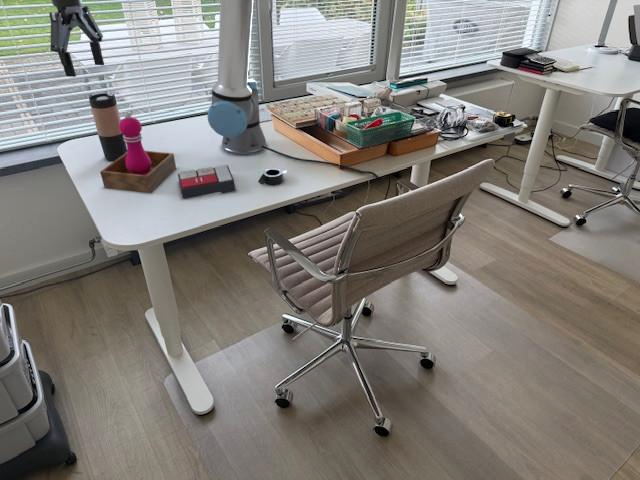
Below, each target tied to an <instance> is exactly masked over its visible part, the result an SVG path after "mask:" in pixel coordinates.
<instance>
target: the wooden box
mask: <svg viewBox="0 0 640 480" xmlns="http://www.w3.org/2000/svg"><path fill="white" fill-rule="evenodd" d="M145 152H146V153H147V154H148V156H149V158H150V160H151V167H150V170H151V171H150V172H149V173H148V174H147V175H138V174H130V171H129V170H128V169H127V168H126V156H127V152H126V153H125V154H123V155H122V156H121V157H119V158H118V159H117V160H115V161H114V162H111V163H110V164H108V165H107V166H105V167H104V168H103V169H102V170H100V171H99V173H100V177H101V181H102V184H103V188H104V189H110V190H116V191H117V190H118V191H125V192H126V191H127V192H136V193H144V194H152V193H153V192H154V191H155V190H156V189H157V188H158V187H159V186H160V185H161V184H162V183H164V181H166V179H167V178H169V177H170V176H171V175H172V174H173V173H174V172H175V171H176V170H177V164H176V159H175V154H174V153H172V152H163V151H153V150H151V151H150V150H145Z"/></svg>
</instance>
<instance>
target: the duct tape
mask: <svg viewBox="0 0 640 480" xmlns="http://www.w3.org/2000/svg"><path fill="white" fill-rule="evenodd" d="M286 173H288V170H282V169H280V168H276V167H271V168H267V169H265V170H263V172H262V174H261V176H260V177H259V179H258V181H257V183H258V184H260V185H261V186H263V185H267V186H271V187H273V186H279V185H281V184H283V182H284V178H283V177H284V174H286Z"/></svg>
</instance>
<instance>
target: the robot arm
mask: <svg viewBox="0 0 640 480" xmlns="http://www.w3.org/2000/svg"><path fill="white" fill-rule="evenodd" d="M51 3H52V5H53V7H56V10H57V11H56V12H55V11H54V12H53V11H52V12H51V11H49V13H48V14H49V20H50V51H51V52H54V53H57V54H58V57H59V61H60V63H61V65H62V67H63V70H64V73H65V77H71V78H75V77H77V74H76V71H75V70H76V69H75V67H74V63H73V59H72V56H71V53H70V51H68V47H69V41H70V37H71V33H72V31H73V30H74V28H76V27H78V28H79V29H80V30H81V31H82V32H83V33H84V34H85V36H86V37H87V38H88V39H89V47H90V50H91V54H92V58H93V62H94V65H95V66H105V61H104V57H103V54H102V47H101V42H103V38H104V34H103V33H102V31H101V29H100V27H99V26H98V24H97V22H96V20H95V19H94V17H93V15H92V13H91V10H90V7H89V6H88V5H83V0H51ZM253 7H254V0H220V1H219V27H218V29H219V30H218V58H217V59H218V61H217V82H216V83H214V84H213V85H212V87H211V105H210V106H209V108H208V111H207V122H208V124H209V127H210V128H211V129H212V130H213V131H214V132H215V133H216V134H217V135H219V136H222V140H221V147H222V150H223V151H224V152H225V153H227V154H230V155H233V156H234V155H235V156H251V155H255V154H259V153H261V152H264V151H265V150H267V151H270V152H272V153H274V154H277V155H280V156H282V157H286V158H288V159H291V160H296V161H301V162H307V163H309V162H310V163H317V164H324V165H329V166H330V165H331V166H336V167H341V168H344V169H347V170H349V171H354V172H357V173H360V174H370V175H373V176H374V177H375V178H376V179H380V176H379V175H378V174H377V173H375V171H370V170H360V169H357V168H354V167H351V166H348V165H345V164H341V165H339V164H340V163H336V162H330V161H324V160H317V159H306V158H301V157H300V158H299V157H295V156H292V155H289V154H285V153H283V152H281V151H278V150H275V149H273V148H270V147H268V146H267V139H266V137H265V134H264V132H263V128H262V126H261V121H260V106H259V105H260V104H259V88H258V87H259V86H258V82H257V81H256V80H254V79H251V78H249V67H250V51H251V35H252V22H253V21H252V20H253V9H254V8H253Z"/></svg>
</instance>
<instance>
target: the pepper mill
mask: <svg viewBox="0 0 640 480" xmlns="http://www.w3.org/2000/svg"><path fill="white" fill-rule="evenodd" d="M119 130H120V132H121V133H122V134H124V135H123V138H124V141H125V142H126V146H127V156H126V168H127V169H128V170H129V171H130V174H138V175H147V174H148V173H149V172H150V171H151V170H150V167H151V160H150V158H149V156H148V154H147V153H146V152H145V151H146V150H145V149H144V147H143V144H142V139H143V136H142V133H141V132H142V130H143V126H142V124H141V122H140V120H138V119H137V118H136V117H133V116H132V114H131V113H130V112H125V113H124V118H122V119H121V121H120V123H119Z"/></svg>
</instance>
